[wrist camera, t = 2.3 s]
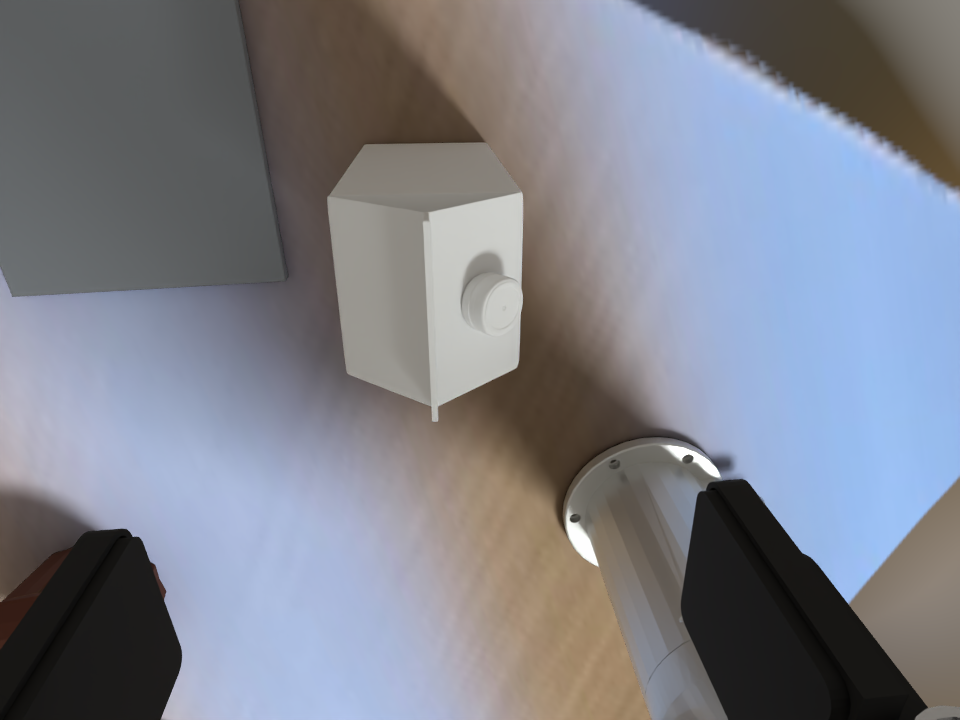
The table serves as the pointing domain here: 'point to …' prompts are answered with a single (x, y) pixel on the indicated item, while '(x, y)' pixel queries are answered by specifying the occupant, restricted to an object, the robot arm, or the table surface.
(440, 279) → the milk carton
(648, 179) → the table surface
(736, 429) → the table surface
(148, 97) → the mat
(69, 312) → the table surface
